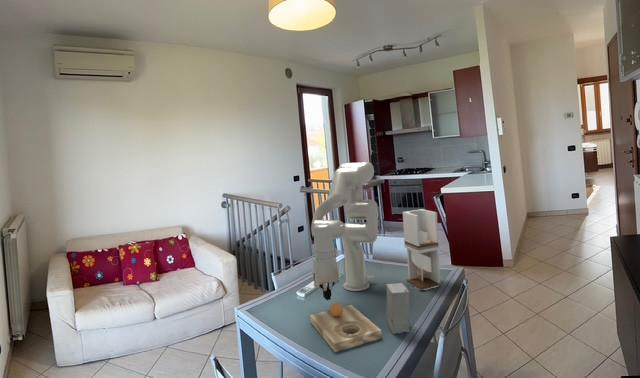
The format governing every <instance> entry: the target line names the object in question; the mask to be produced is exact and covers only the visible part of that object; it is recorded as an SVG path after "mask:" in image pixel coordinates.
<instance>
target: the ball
mask: <svg viewBox="0 0 640 378" xmlns="http://www.w3.org/2000/svg"><path fill="white" fill-rule="evenodd" d="M343 307H344V306H342V304H341V303H339V302H334V303H332V304H331V305H330V309H329V310H330V312H331V314H332V315H333V316H340V315H341V314H342V313H343Z"/></svg>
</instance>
